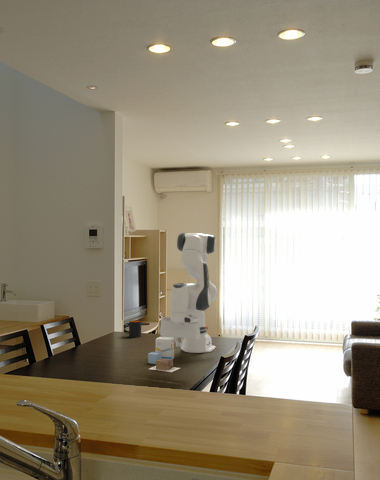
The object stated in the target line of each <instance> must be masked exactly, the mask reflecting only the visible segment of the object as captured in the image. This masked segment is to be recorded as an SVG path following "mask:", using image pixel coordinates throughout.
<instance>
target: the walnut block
mask: <svg viewBox="0 0 380 480" xmlns="http://www.w3.org/2000/svg"><path fill="white" fill-rule="evenodd" d="M155 366H156V369H159V370H158V371H160V370H169V369H172V368H173V367H174V359H164V358H162V359H159V360H157V361H156V364H155Z"/></svg>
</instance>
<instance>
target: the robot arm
mask: <svg viewBox="0 0 380 480" xmlns="http://www.w3.org/2000/svg"><path fill="white" fill-rule="evenodd" d="M176 247H177V249H178V251H180V252H181V257H180V263H181V264H182V267H183V268H184V269H186V271H187V272H186V273H187V275H188V276H189V277H190V278H192V279H194V280H196V281H197V282H196V283H187V282H186V283H183V282H182V283H180V282H179V283H175V284H173V285H171V290H170V311H169V312H170V316H163V317H162V318H161V319H160V329H159V335H160V337H174V344H175V347H176V348H180V350H182V352H186V353H195V354H197V353H198V354H199V353H201V354H202V353H210V352H212V351H214V350H215V349H216V348H217V347H216V346H215V345H213V344H212V343H213V342H212V341H213V340H212V337H211V336H210V335H209V334H208V332H207V330H208V329H209V326H208V325H206V314H205V311H206V310H208V308H210V306H211V304H212V302H213V301H215V300H216V299H217V297H218V294H219V293H218V288H217V287H216V285H215V284H214V283H213V282H211V281H210V277H209V276H210V275H209V269H208V255H209V254H213V253H214V252H215V250H216V249H217V239H216V237H215V235H213V234H207V233H206V234H205V233H200V232H197V233H196V232H189V233H186V232H183V233H180V234H178V236H177V239H176ZM179 339H180V341H179Z"/></svg>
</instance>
